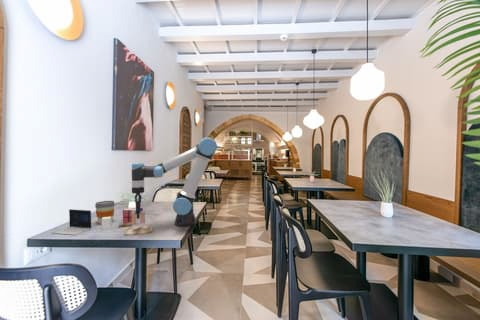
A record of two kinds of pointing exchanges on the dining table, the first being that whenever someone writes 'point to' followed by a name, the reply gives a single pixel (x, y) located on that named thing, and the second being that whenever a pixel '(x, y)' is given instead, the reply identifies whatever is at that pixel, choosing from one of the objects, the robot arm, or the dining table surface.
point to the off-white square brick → (106, 222)
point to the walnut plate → (125, 224)
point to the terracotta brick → (142, 217)
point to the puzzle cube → (128, 214)
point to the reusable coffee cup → (104, 210)
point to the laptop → (77, 222)
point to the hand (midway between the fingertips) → (138, 222)
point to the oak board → (138, 230)
